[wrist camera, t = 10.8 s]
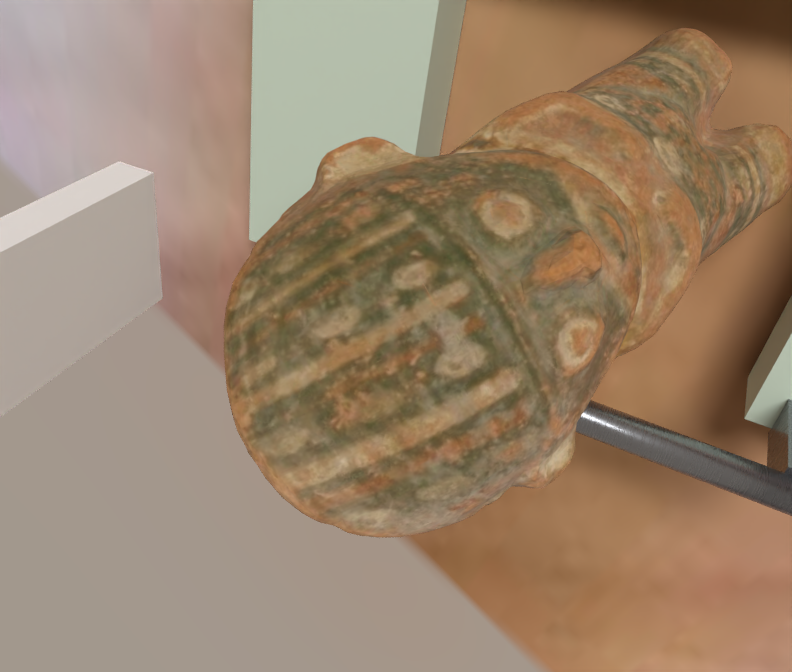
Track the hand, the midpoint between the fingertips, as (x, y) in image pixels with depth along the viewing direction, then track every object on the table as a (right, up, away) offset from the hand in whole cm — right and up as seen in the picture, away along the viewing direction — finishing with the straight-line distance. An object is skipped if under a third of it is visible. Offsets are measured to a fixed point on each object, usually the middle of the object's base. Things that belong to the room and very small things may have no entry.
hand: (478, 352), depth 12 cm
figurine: (+5, +7, +10) cm, 13 cm away
